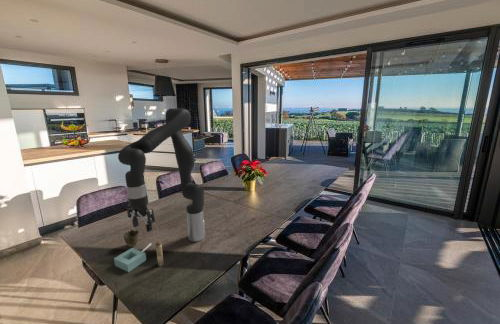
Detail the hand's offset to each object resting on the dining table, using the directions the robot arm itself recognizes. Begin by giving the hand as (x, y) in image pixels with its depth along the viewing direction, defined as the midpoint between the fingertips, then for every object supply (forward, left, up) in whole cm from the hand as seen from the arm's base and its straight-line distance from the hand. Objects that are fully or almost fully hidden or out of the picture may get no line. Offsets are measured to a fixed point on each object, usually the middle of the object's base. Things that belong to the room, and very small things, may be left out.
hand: (142, 228), depth 103 cm
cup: (-12, -26, -23) cm, 37 cm away
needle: (-8, 0, -23) cm, 24 cm away
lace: (-13, -17, -23) cm, 31 cm away
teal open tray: (-2, -14, -23) cm, 27 cm away
